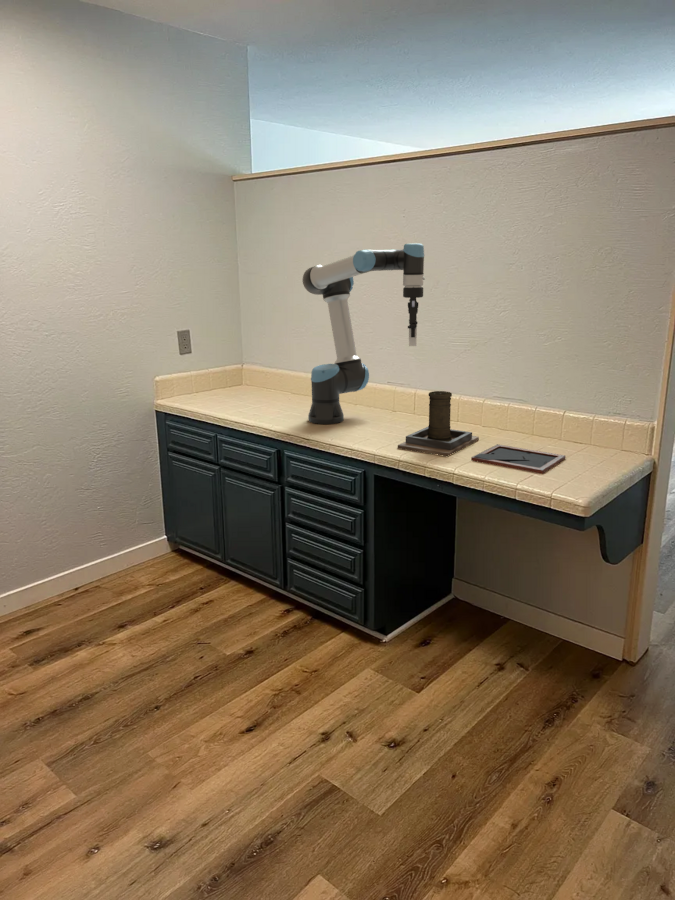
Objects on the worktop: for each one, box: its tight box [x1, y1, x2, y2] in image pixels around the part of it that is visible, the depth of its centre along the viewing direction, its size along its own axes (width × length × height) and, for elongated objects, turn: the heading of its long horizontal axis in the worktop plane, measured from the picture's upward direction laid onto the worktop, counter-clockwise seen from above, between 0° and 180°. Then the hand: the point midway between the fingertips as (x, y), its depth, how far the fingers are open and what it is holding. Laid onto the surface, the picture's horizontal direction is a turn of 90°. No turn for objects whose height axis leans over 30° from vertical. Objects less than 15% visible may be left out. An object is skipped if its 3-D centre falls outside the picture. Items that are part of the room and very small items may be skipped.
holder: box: [397, 426, 480, 457], centre depth 249 cm, size 26×20×4 cm
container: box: [427, 390, 453, 442], centre depth 247 cm, size 9×9×18 cm
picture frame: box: [470, 444, 566, 474], centre depth 229 cm, size 20×2×25 cm
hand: (412, 343), depth 258 cm, fingers open, 13 cm apart
